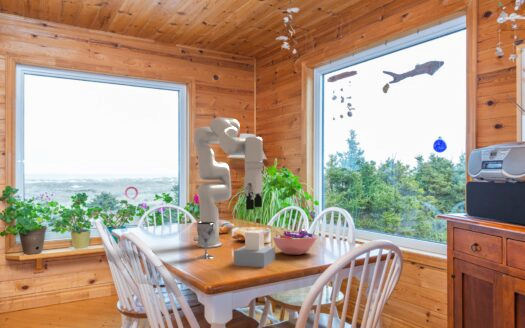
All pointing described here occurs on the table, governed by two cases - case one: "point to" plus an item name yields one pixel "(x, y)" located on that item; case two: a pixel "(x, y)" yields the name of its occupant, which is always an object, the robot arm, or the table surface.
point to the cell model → (294, 242)
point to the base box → (254, 257)
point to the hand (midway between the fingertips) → (254, 208)
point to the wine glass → (205, 235)
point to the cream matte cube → (254, 240)
